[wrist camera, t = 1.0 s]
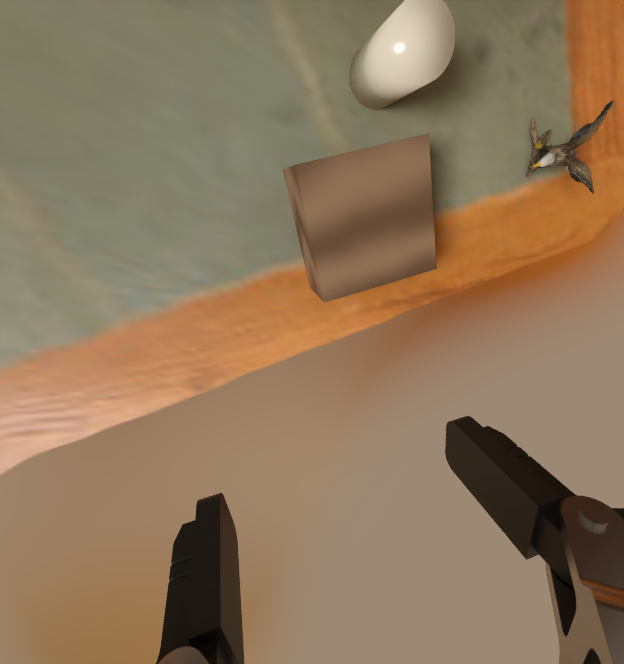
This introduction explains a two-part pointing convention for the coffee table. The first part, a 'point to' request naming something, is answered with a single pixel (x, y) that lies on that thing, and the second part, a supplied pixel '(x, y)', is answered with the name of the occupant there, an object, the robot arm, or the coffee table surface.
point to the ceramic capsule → (403, 53)
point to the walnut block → (364, 216)
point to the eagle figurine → (565, 151)
